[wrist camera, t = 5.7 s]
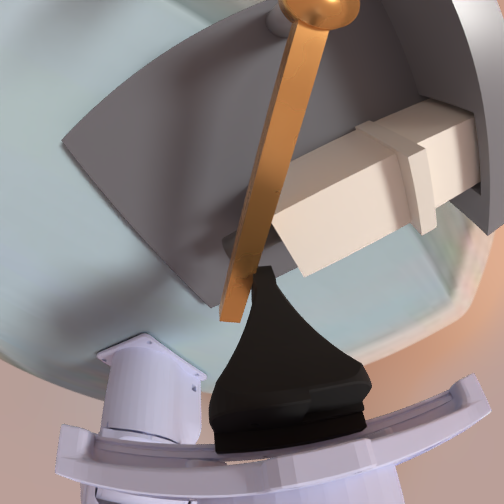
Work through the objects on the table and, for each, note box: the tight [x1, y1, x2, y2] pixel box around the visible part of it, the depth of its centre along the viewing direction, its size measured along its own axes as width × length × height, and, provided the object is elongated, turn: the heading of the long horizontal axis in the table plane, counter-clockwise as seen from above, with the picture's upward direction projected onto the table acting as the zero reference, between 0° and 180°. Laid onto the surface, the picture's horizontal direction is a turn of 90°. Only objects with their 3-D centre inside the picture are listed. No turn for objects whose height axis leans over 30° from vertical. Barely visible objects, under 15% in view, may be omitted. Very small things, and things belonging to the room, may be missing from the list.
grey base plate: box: [62, 0, 504, 308], centre depth 12 cm, size 16×24×6 cm, turn 119°
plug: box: [222, 98, 481, 277], centre depth 13 cm, size 4×17×5 cm, turn 119°
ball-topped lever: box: [219, 0, 360, 323], centre depth 9 cm, size 15×2×1 cm, turn 167°
